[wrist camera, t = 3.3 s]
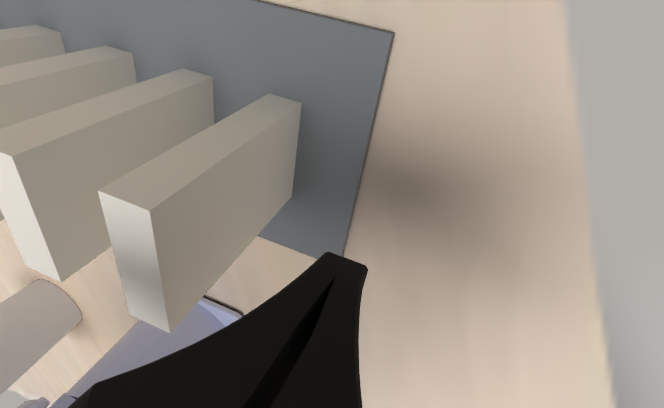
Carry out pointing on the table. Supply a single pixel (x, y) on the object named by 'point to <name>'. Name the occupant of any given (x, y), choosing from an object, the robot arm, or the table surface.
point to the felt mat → (253, 83)
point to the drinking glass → (32, 327)
